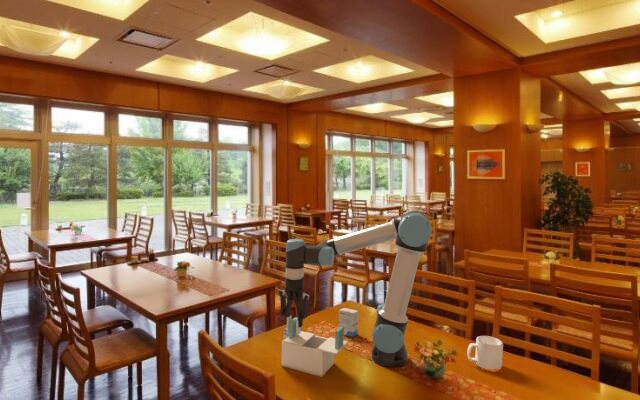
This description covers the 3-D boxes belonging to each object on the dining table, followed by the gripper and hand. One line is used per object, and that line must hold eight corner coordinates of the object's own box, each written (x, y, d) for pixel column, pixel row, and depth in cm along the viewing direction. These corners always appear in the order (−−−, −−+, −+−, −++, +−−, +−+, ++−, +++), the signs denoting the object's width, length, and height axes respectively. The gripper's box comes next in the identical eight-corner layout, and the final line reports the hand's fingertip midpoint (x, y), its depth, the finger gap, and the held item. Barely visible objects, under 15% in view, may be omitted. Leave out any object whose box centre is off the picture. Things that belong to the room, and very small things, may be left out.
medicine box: (294, 342, 182) (295, 323, 182) (302, 345, 179) (302, 326, 179) (282, 347, 176) (283, 328, 175) (290, 350, 173) (290, 331, 173)
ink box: (358, 334, 193) (359, 310, 192) (353, 337, 189) (354, 313, 188) (343, 330, 197) (343, 306, 197) (338, 333, 193) (338, 309, 192)
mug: (472, 371, 159) (473, 345, 158) (463, 359, 169) (464, 335, 168) (506, 372, 158) (507, 346, 158) (495, 360, 169) (496, 336, 168)
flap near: (348, 342, 159) (348, 324, 159) (336, 354, 148) (337, 335, 148) (329, 338, 163) (329, 320, 162) (316, 350, 152) (317, 330, 151)
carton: (334, 363, 162) (334, 339, 162) (321, 376, 152) (322, 351, 151) (295, 354, 170) (296, 331, 169) (281, 366, 159) (281, 342, 159)
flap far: (314, 335, 166) (315, 317, 165) (301, 346, 155) (301, 327, 154) (297, 331, 169) (297, 314, 169) (283, 342, 158) (283, 323, 158)
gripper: (317, 277, 161) (315, 333, 163) (281, 272, 168) (280, 326, 170) (308, 282, 154) (307, 340, 156) (272, 276, 162) (271, 332, 163)
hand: (293, 333), depth 163 cm, fingers open, 4 cm apart
